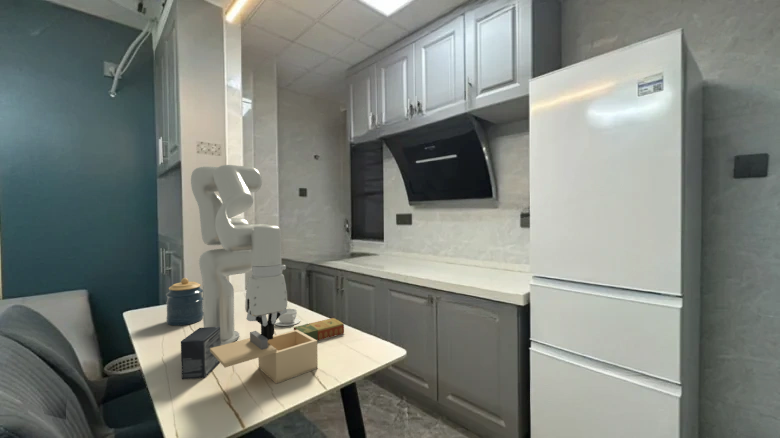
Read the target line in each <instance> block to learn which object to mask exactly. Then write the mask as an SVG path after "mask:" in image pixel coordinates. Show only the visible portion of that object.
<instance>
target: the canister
mask: <svg viewBox="0 0 780 438" xmlns="http://www.w3.org/2000/svg"><path fill="white" fill-rule="evenodd" d="M201 286H202V285H201V284H200V283H199V282H197V281H190V280H189V278H187V277H183V278H181V281H180V282H177V283H174V284H172V285H171V286H169V287H168V290H169V291H168V292H166V293H165V296H166V297H167V301H166V302H165V304H166V322H167V323H166V324H167V325H168V326H186V325H190V324H195V323H197V322H200V321H203V288H201Z"/></svg>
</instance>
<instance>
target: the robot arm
mask: <svg viewBox="0 0 780 438" xmlns="http://www.w3.org/2000/svg"><path fill="white" fill-rule="evenodd" d="M190 175H191V176H190V187H191V192H192V194H193V196H194V199H195V201H196V203H197V207H198V210H199V211H198V212H199V221H200V232H201V239H202V242H203V243H204V244H205V245H208V246H214V247H215V246H222V248H216V249H209V250H207V251H205V252H202V254H201V255H200V257H199V260H198V261H199V262H198V265H199V270H200V276H201V281H202V289H203V292H202V297H203V319H202V321H203V322H202V323H203V328H205V327H220V339H221V345H225V344H228V343H232V342H236V341H238V339H239V338H240V332H239V331H236V330H235V289H234V286H233V284H232V283H231V282H230V281H229V280H228V279H227V277H228V276H235V275H241V274H247V273H250V272H251V276H249V277H248V280H247V284H246V291H245V305H244V308H245V312H246V321H249V322H257V323H259V324H260V334H261V335H263V336H264V337H266V338H267V339H268V340H269V339H273V336H274V335H275V323H276V321H277V320H279V319H278V318H279V316H280V315H283V314H285V313H286V312H287V309H288V291H287V284H286V279H285V275H284V274H283V271H284V270H286V269H287V265H286V264H283V263H282V230H281V228H280V227H279V226H278V225H270V224H265V223H255V224H253V223H251V224H250V223H249V221H247V220H246V219H244V218H239V217H238V218H237V217H235V216H238V215H240V214H243V213H245V212H247V211H248V210H249V209H250V208H252V205H253V204H254V198H253V195H252V193H256V192H259V190H261V187H262V183H263V179H262V175H261V173H260V172H259V170H258V169H256V168H255V167H253V166H245V165H234V164H223V165H220V166H218V167H217V166H199V167H196V168H195V169H193V170H192V173H191V174H190ZM216 192H218V193H219V195H218V194H217V193H216Z"/></svg>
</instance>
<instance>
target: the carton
mask: <svg viewBox="0 0 780 438" xmlns="http://www.w3.org/2000/svg"><path fill="white" fill-rule="evenodd" d="M294 330H299V331H301V332H303V333H304V334H306V335H308V336H310V337H312V338H314V339H315V340H317V341H321V340H325V339H329V338H332V337H336V336H340V335H344V334H345V324H344V323H343V322H342V321H340V320H339V319H336V318H334V317H331V318H327V319H324V320H323V319H322V320H318V321H315V322H310V323H305V324H302V325H297V326H293V331H294Z"/></svg>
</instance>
